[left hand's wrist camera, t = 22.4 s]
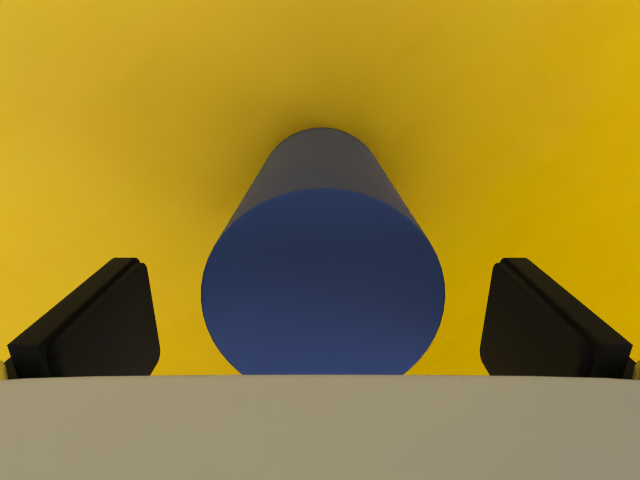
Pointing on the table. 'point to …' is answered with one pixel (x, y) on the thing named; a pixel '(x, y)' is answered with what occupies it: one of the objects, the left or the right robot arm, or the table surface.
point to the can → (322, 268)
